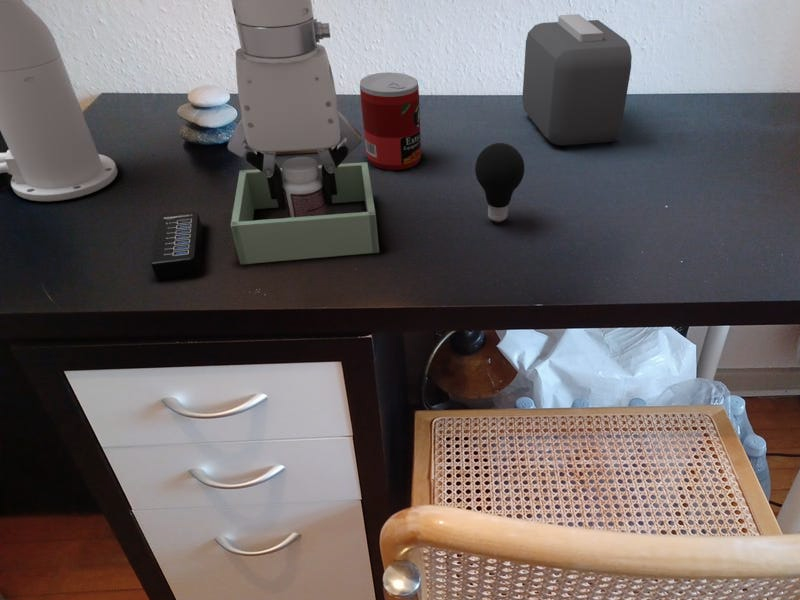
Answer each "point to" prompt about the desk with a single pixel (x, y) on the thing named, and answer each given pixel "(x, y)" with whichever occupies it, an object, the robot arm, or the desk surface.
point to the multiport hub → (177, 246)
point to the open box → (304, 221)
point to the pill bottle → (303, 188)
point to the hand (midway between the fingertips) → (305, 200)
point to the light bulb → (499, 177)
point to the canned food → (391, 120)
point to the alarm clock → (576, 80)
